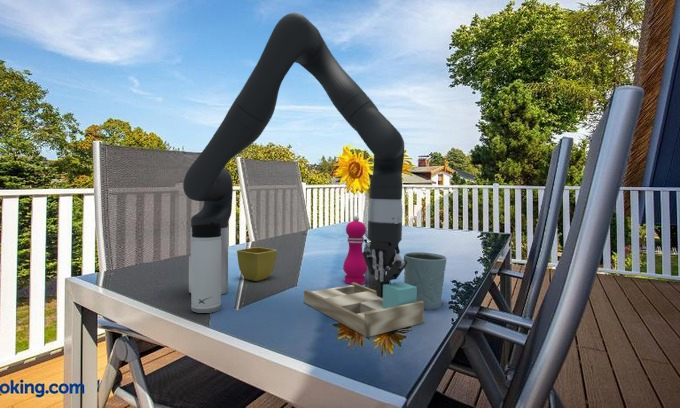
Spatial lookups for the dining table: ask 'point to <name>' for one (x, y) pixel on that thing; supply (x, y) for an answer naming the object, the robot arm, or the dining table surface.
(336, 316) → the tray
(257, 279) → the flower pot
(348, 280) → the pepper mill
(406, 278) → the grey green cup
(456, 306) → the dining table surface
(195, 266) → the travel mug
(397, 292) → the teal block
